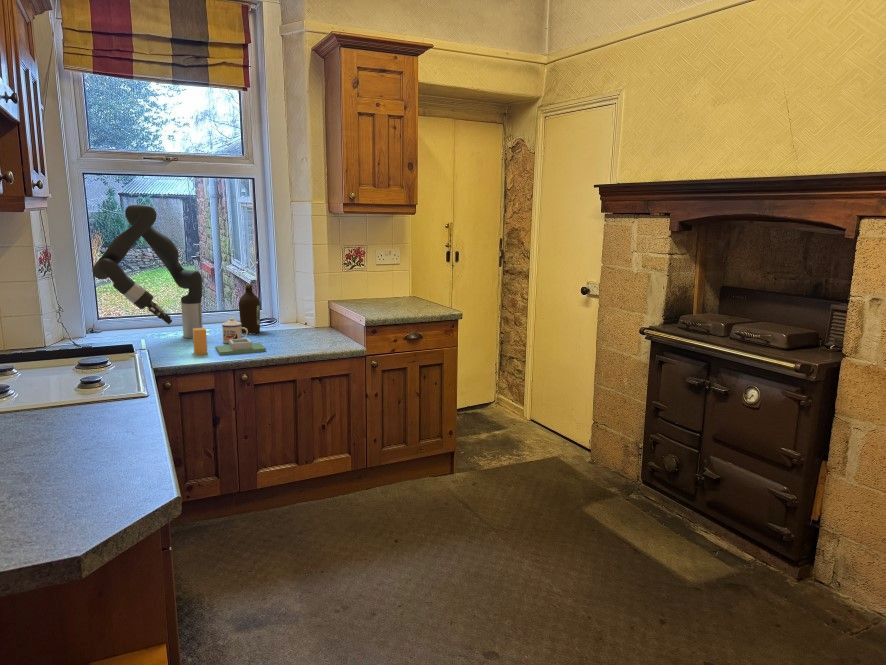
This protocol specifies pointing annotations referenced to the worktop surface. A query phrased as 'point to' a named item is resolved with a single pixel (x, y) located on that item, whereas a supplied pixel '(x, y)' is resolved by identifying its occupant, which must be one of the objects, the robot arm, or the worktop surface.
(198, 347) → the orange wooden block
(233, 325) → the teacup with lid
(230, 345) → the deck plate
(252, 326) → the olive oil
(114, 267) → the robot arm
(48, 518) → the worktop surface
